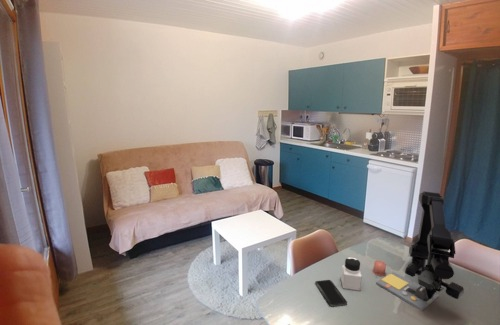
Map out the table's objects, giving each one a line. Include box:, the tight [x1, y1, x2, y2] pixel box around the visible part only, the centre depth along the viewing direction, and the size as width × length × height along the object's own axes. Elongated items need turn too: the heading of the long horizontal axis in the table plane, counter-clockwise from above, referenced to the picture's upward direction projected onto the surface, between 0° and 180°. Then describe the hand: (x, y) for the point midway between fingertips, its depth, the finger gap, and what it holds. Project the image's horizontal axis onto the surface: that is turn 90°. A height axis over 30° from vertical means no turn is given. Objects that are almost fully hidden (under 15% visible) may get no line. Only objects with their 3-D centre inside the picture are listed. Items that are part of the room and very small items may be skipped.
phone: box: [314, 279, 348, 308], centre depth 113 cm, size 8×1×15 cm
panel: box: [375, 271, 439, 312], centre depth 115 cm, size 14×19×2 cm
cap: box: [372, 259, 387, 277], centre depth 127 cm, size 5×5×5 cm
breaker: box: [415, 285, 427, 300], centre depth 110 cm, size 4×3×4 cm
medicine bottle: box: [340, 257, 363, 292], centre depth 117 cm, size 7×7×12 cm
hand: (429, 298), depth 108 cm, fingers closed
